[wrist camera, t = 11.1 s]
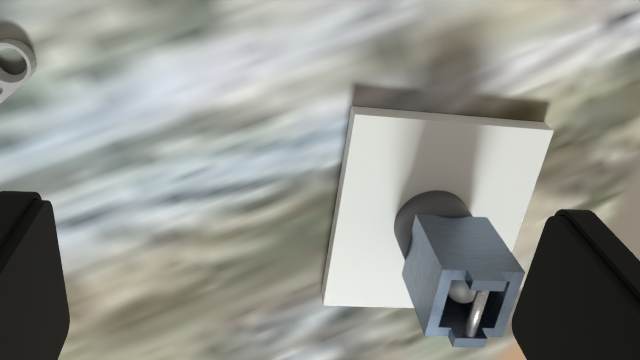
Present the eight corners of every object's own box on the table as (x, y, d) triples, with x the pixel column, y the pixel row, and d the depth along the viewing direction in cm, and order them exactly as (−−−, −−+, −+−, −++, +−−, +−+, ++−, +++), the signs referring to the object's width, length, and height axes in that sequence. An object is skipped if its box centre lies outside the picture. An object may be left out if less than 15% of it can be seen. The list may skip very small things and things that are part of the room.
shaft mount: (351, 106, 38) (380, 172, 29) (544, 122, 40) (622, 188, 31) (320, 292, 45) (337, 389, 37) (484, 298, 47) (535, 390, 39)
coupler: (415, 213, 37) (447, 279, 31) (487, 217, 38) (531, 282, 32) (401, 274, 39) (428, 346, 33) (469, 276, 40) (507, 347, 34)
